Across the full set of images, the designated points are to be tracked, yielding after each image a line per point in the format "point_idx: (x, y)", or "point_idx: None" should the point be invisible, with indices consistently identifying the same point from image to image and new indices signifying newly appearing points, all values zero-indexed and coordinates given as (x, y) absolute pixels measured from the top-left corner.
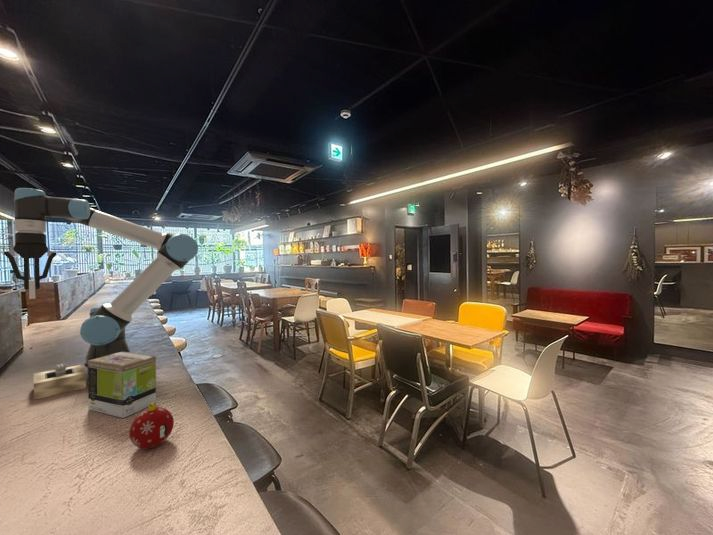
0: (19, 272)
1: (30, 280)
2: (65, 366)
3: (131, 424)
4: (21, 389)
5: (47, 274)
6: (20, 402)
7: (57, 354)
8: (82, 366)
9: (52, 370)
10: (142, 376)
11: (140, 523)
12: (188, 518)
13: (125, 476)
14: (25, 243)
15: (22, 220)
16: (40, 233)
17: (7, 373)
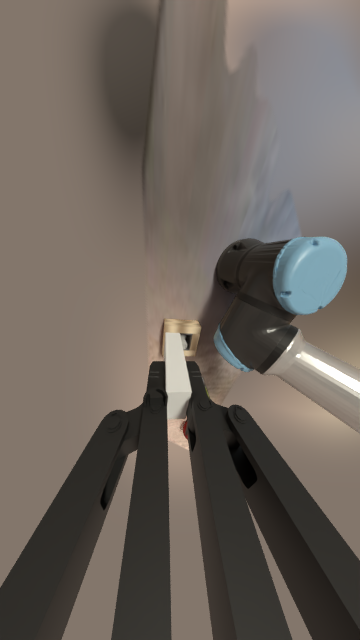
0: (111, 500)
1: (170, 407)
2: (185, 347)
3: (184, 433)
4: (156, 313)
5: (245, 455)
6: (155, 345)
7: (213, 129)
8: (199, 334)
9: (178, 327)
10: None
11: (173, 441)
12: (181, 444)
13: (177, 429)
14: None
15: None
16: None
17: (144, 223)
